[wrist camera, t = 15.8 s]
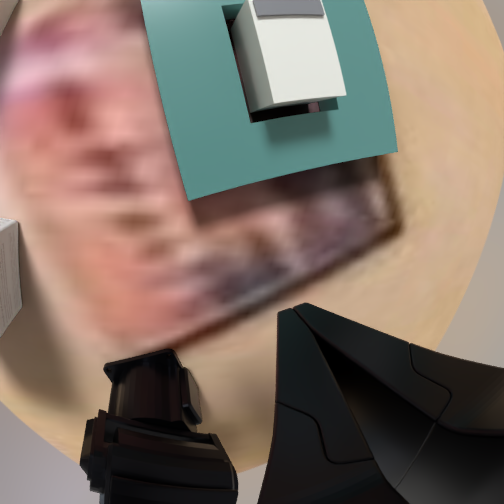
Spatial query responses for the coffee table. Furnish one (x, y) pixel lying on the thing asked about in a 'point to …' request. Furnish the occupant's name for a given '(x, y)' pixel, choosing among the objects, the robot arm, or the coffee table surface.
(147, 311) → the coffee table surface
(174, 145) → the socket board
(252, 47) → the plug
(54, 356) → the coffee table surface
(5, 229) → the supplement box
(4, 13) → the architectural model
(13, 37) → the coffee table surface
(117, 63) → the coffee table surface
